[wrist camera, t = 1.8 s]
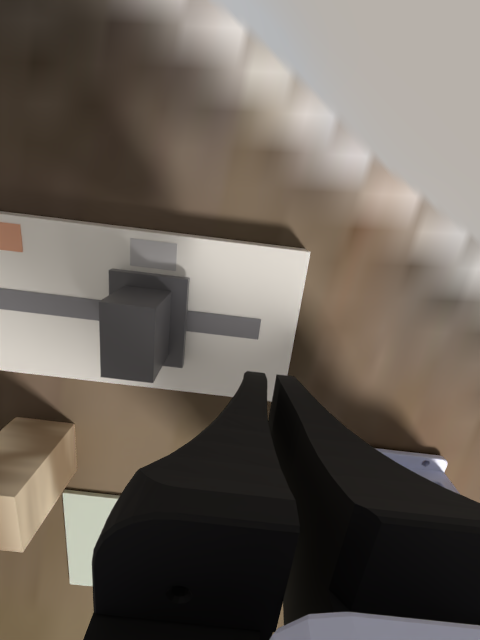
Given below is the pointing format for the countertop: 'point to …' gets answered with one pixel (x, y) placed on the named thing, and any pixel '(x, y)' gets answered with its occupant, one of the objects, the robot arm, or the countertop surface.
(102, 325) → the switch slider
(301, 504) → the robot arm
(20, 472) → the block
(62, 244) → the switch panel
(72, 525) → the pad
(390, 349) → the countertop surface
